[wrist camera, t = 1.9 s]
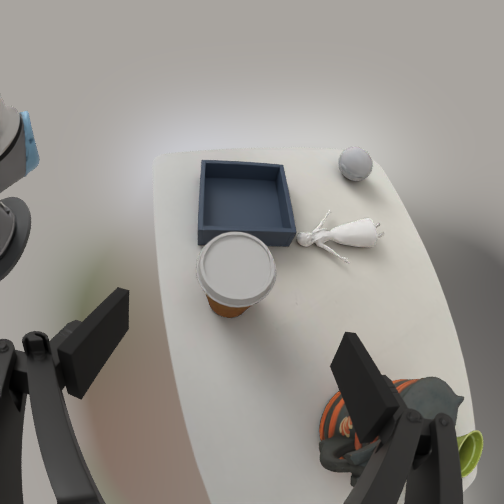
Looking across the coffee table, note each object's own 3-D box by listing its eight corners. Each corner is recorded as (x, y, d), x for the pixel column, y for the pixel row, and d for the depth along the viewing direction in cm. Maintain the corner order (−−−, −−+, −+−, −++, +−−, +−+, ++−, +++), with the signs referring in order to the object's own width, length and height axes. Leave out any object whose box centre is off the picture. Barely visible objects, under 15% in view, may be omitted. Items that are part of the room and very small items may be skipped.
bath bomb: (343, 189, 58) (358, 164, 51) (327, 164, 61) (340, 139, 54) (369, 187, 60) (384, 164, 53) (353, 163, 63) (366, 140, 56)
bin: (197, 245, 45) (197, 229, 41) (200, 176, 52) (201, 159, 48) (288, 246, 48) (296, 232, 44) (277, 180, 55) (283, 164, 51)
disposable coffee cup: (188, 282, 42) (183, 242, 31) (243, 261, 45) (256, 219, 35) (212, 338, 38) (216, 317, 28) (270, 313, 41) (293, 284, 31)
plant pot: (428, 434, 34) (461, 434, 26) (456, 429, 34) (486, 427, 26) (418, 477, 29) (449, 482, 21) (447, 469, 29) (477, 471, 22)
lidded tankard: (304, 489, 28) (375, 539, 11) (278, 411, 34) (344, 424, 17) (401, 438, 33) (491, 438, 16) (381, 367, 39) (471, 339, 22)
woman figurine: (395, 251, 46) (309, 263, 43) (384, 261, 50) (301, 274, 47) (373, 200, 51) (291, 204, 48) (365, 213, 55) (286, 218, 52)
